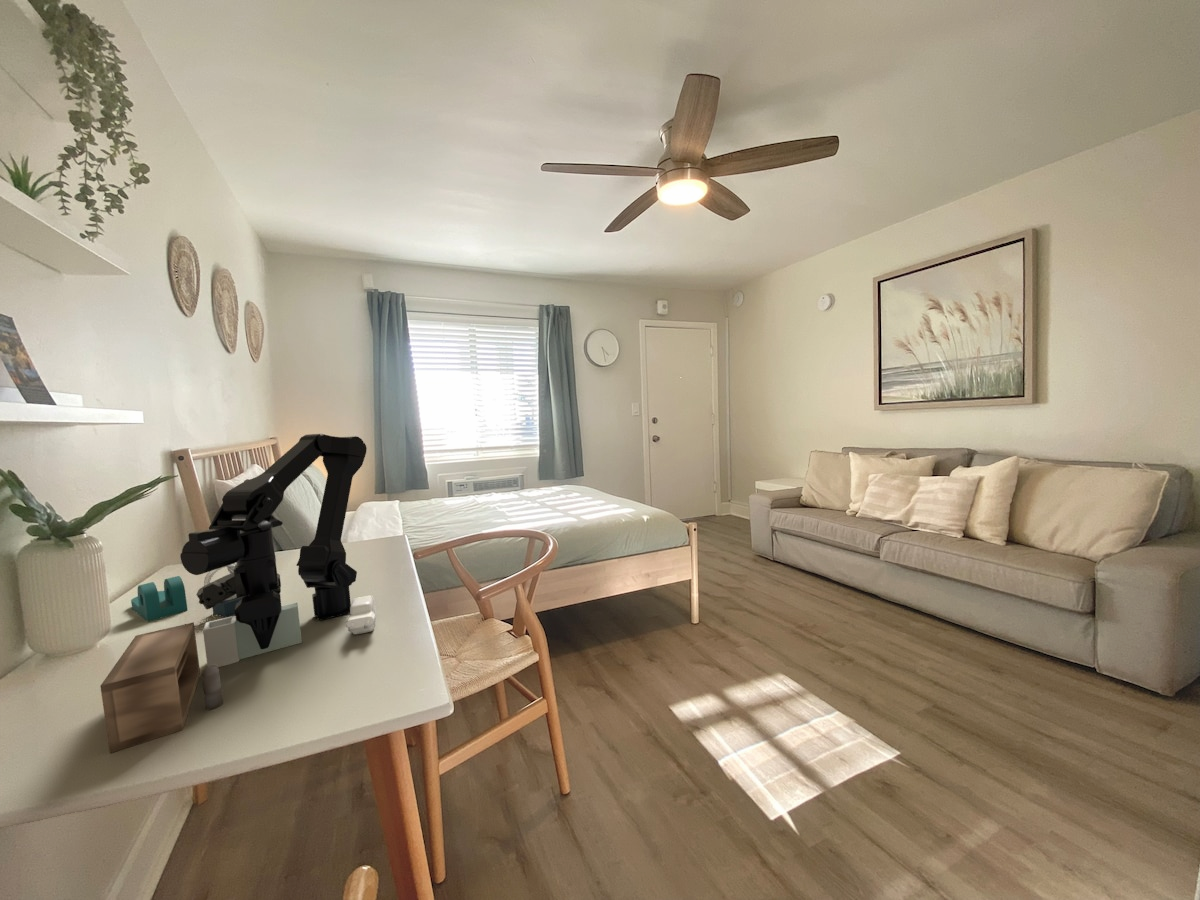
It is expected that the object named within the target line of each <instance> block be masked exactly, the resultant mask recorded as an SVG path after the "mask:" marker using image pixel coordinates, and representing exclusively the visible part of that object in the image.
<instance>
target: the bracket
mask: <svg viewBox="0 0 1200 900" xmlns="http://www.w3.org/2000/svg"><path fill="white" fill-rule="evenodd" d="M183 581H184V580H182V576H180V575H177V576H172V577H169V578H165V579H164V581H163V590H158V588H157V585H156V584H155V582H154V581H152V582H148V583H143V584H140V585H138V586H137V596H135V597H133V598H132V599H131V600H130V604H131V609H132V610H133V611H134V612H135V613H136V612H137V613H136V614H138V615H139V616H140V617H141V618H142V619H144V620H145V621H146V622H148V623H149V622H153V621H156V620H159V619H162V618H163V619H164V618H166V617H170V616H173V615H174V616H175V615H177V614H180V613H184V612H187V611H188V604H187V594H186V589H185V588H186V587H185V585H184V582H183Z"/></svg>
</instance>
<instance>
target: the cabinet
mask: <svg viewBox="0 0 1200 900" xmlns="http://www.w3.org/2000/svg"><path fill="white" fill-rule="evenodd" d="M196 637H197V636H196V630H195V622H190V623H186V624H180V625H177V626H176V625H175V626H172V627H167V628H163V629H160V630H155V631H150V632H145V633H142V634H137V635H135V636H134V638H133V639H132V640H131V642H130V643H129V645H128V646H127V647H126V649H125V651H123V653H122V655H121V656H120V658H118V660H117V662H116V663H115V664H114V665H113V667H112V669H111V670H110V672H109V673H108V674H107V676H106V677H105V679H103V681H102V683H101V684H100V693H101V700H102V706H103V707H102V708H103V713H104V721H105V727H106V728H105V729H106V734H107V735H106V736H107V741H108V748H109V753H110V754H112V753H115V752H118V751H122V750H124V749H128V748H131V747H134V746H137V745H140V744H143V743H146V742H149V741H153V740H155V739H158V738H162V737H164V736H167V735H171V734H173V733H177V732H180V731H183V729H184V727H185V723H186V720H187V717H188V714H189V711H190V707H191V704H192V701H193V699H194V695H195V692H196V689H197V687H198V683H199V679H200V676H201V683H202V691H203V699H204V706H205V710H206V711H207V710H208V711H210V710H213V709H217V708H219V707H221V706H222V705H223V704H224V698H223V691H222V682H221V675H220V674H221V673H220V669H219V668H220V667H217V666H214V665H212V666H208V667H205V668H203V670H202V672H201V669H200V662H199V654H198V645H197V638H196Z"/></svg>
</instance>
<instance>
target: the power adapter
mask: <svg viewBox="0 0 1200 900" xmlns="http://www.w3.org/2000/svg"><path fill="white" fill-rule="evenodd" d="M375 608H376V607H375V599H374V596H373V595H365V596H358V597H355V598H353V599H352V601H351V607H350V613H349V616H348V618H347V619H346V621H345V622H346V623H345V627H346V628H347V631H348V632H349V633H351V632H352V635H360V634H367V633H369V632H372V631H374V629H375V624H376V609H375Z"/></svg>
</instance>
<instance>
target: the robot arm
mask: <svg viewBox="0 0 1200 900" xmlns="http://www.w3.org/2000/svg"><path fill="white" fill-rule="evenodd" d="M367 448H368V447H367V445H366V443H365V442H364V440H363V439H362V438H361V437H359V436H356V435H355V436H332V435H327V434H323V433H312V434H310V433H309V434H304V435H303V436H300V438H299V441H298V442H296V443H295V444H294V445H293V446H292V447H291V448H289V449H288V451H286V452H285V453H284V454H283V455H282V456H281V457H280V458H278V459H277V460H276V461H275V462H274V463H273V464H272V465H270V466H269V467H268V468H267V469H266V470H265V471H263V472H262V473H260V474H259V475H257V476H256V477H253V478H251V479H248V480H245V481H242V482H241V483H240V484H238V485H236V486H234V487H233V488H231V489H230V490H228V491H226V492H225V494H224V495H223V496H222V499H221V502H222V504H221V505H220V507H219V509H218V511H217V512H216V514H215V516H214V518H213V520H212V522H211V523H210V525H209V526H208V529H207V530H201V531H193V532H189V533H188V541H187V542H185V543H184V545H183V547H182V549H181V550H182V551H181V553H180V561H181V565H182V566H183V568H184V569H185V570H186V571H187V572H188V573H189V574H191V575H193V576H201V575H203V574H207V573H208V572H209V571H212V570H216V569H219V568H222V567H224V568H226V567H225V566H228V565H231V564H234V563H235V564H236V565H235V569H234V572H233V573H231V574H230V573H227V574H226V575H224V576H222V577H220V578H217V579H216V580H213V581H212V582H211V581H210V583H209V584H207V585H205V586H202V587H200V588H199V589H198V591H197V592H196V597H197V598H198V600H199V601H198V603H199V604H200V605H203V607H204V609H205V610H210V609H213V607H215V606H216V604H218V603H220V602H222V601H224V600H226V599H228V598H230V597H232V596H233V595H235V594H236V597H237V598H239V597H242V598H241V600H240V601H239V602H238V603H237V604H236V608H235V615H234V616H236V621H238V622H240V623H245V624H248V625H250V626H251V628H252V630H253V633H254V635H255V637H256V639H257V642H258V644H259V646H260V648H261V649H266V648H268V647H269V644H270V642H271V639H272V636H273V633H274V630H275V627H276V624H277V621H278V618H279V616H280V613H281V610H282V609H281V606H282V599H281V597H282V596H281V592H282V590H281V588H282V582H281V575H280V574H279V573H278V570H277V557H276V553H275V552H276V550H275V545H274V543H275V542H274V535H273V534H274V533H273V528H277V527H281V526H283V524H284V523H283V521H281V520H280V519H278V518H276V517H274V516H273V514H274V513H275V511H276V510H277V509H278V507H279V505H281V503H282V502H283V500H284V496H285V495H284V493H285V491H286V490H287V489H288V487H289V486H290V485H292V483H294V481H296V479H298V477H300V476H301V475H302V474H303V473H304V472H305V471H306V470H308V468H309V467H310V466H311V465H312V464H314V462H315V461H316V460H317V459H318V458H320V457H322V462H323V466H324V468H325V470H326V473H327V477H326V482H325V486H324V491H323V492H324V493H323V496H322V501H321V507H320V511H319V515H318V516H319V517H318V521H317V525H316V530H315V534H314V538H313V539H312V541H311V542H310V544H309V545H302V546H301V548H300V549H299V558H298V561H297V563H296V566H297V568H298V570H297V572H298V573H297V574H298V576H300V578H301V580H303V583H304V584H305V587H306V588H307V589H310V588H313V589H314V593H312V594H311V597H312V605H313V614H314V616H315V617H317V621H323V620H327V619H332V618H334V617H339V616H342V615H346V614H350V607H351V604H352V601H351V592H350V586H352V585H353V583H355V582H356V580H357V575H358V574H357V573H358V572H357V570H355V569H354V568H353V567H352V566H350V565H349V564H347V552H346V549H345V547H344V544H343V542H342V536H343V535H342V534H343V530H344V525H345V520H346V515H347V514H346V513H347V510H348V509H347V508H348V504H349V498H350V493H351V488H352V482H353V478H354V476H355V475H356V473H357V472H358V471H359V470H360V468H361V467H363V464H364V461H365V457H366V454H367ZM222 569H223V568H222Z"/></svg>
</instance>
